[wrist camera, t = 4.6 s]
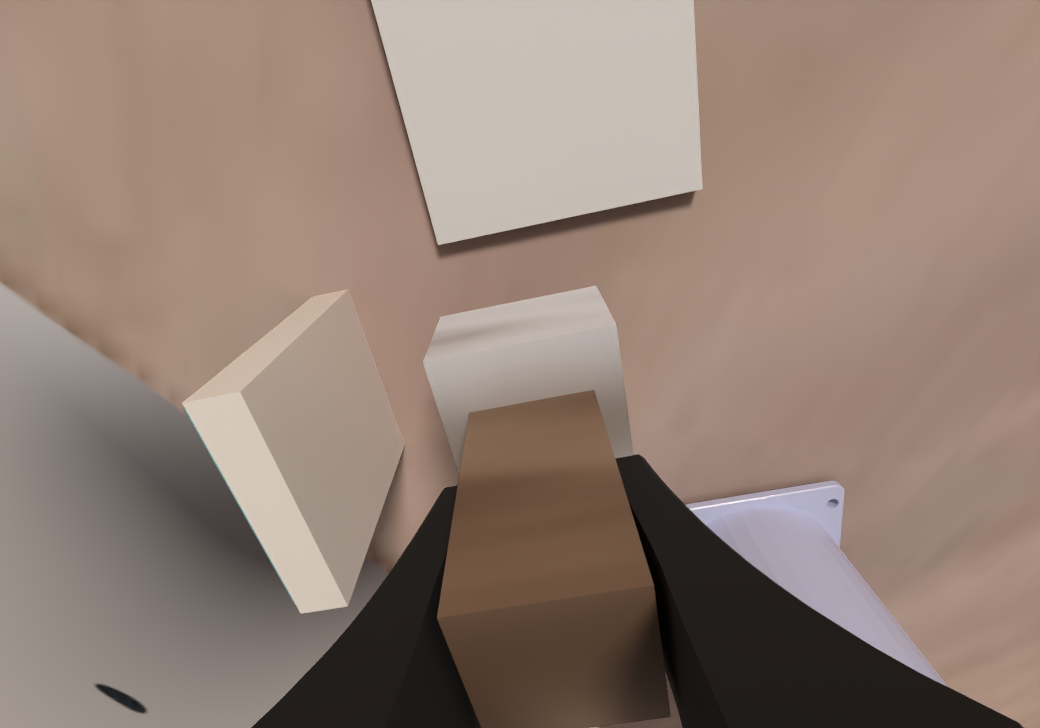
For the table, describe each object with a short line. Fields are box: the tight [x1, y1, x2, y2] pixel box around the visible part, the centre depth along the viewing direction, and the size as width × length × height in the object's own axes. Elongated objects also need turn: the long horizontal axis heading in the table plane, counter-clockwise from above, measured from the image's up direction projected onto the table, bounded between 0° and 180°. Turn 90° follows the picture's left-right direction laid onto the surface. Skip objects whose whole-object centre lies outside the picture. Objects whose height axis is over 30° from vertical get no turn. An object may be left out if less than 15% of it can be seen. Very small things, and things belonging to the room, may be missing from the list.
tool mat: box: [371, 0, 702, 245], centre depth 15 cm, size 9×9×1 cm
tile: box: [182, 290, 405, 613], centre depth 16 cm, size 7×2×8 cm, turn 12°
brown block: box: [423, 286, 670, 728], centre depth 11 cm, size 6×4×8 cm
